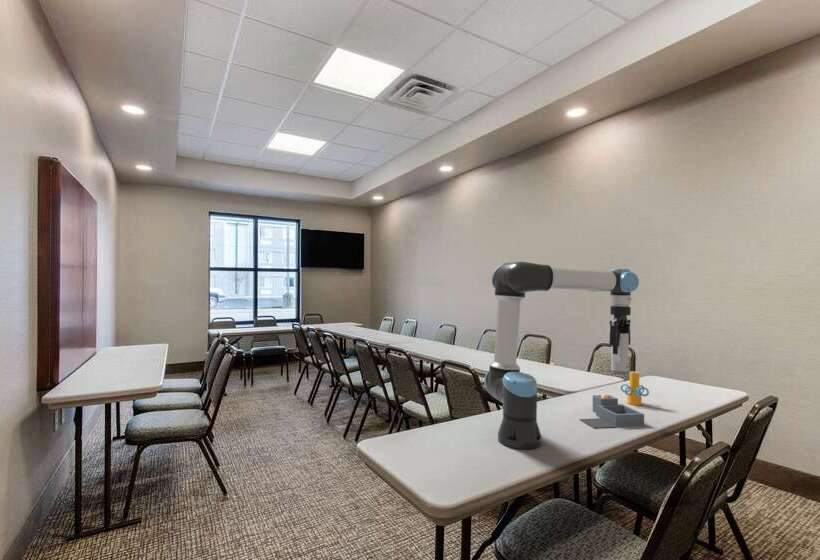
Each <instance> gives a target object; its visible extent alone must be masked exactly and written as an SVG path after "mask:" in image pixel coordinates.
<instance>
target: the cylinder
mask: <svg viewBox="0 0 820 560" xmlns="http://www.w3.org/2000/svg"><path fill="white" fill-rule="evenodd" d="M623 387H625V389H623ZM620 390H621V391H622V393H624V394H625V395H626V396H627V397H626V399H627V400H626V401H627V404H628V405H631V406H641V405H642V403H643V401H642V399H643V398H642V397H647V396H648V395H649V394H650V390H649V389H648V388H647V387H645V386H644V385H642V384H640V372H639V371H629V385H628V384H627V383H623V384H621V386H620ZM644 391H646V393H645V394H643V393H644Z"/></svg>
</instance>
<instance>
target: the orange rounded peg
mask: <svg viewBox="0 0 820 560" xmlns="http://www.w3.org/2000/svg"><path fill="white" fill-rule="evenodd" d="M600 395H601V398H603V399H606V398H609V396H608V395H609V394H600Z"/></svg>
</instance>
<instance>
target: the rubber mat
mask: <svg viewBox="0 0 820 560" xmlns="http://www.w3.org/2000/svg"><path fill="white" fill-rule="evenodd" d="M579 421H581V422H582V423H584V424H585V425H587V426H589V427H590V428H592V429H613V428H615V429H617V428H618V426H615V425H614V424H612V423H610V422H608V421H606V420H604V419H602V418H600V417H597V418H595V417H594V418H579Z"/></svg>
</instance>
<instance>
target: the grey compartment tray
mask: <svg viewBox="0 0 820 560" xmlns="http://www.w3.org/2000/svg"><path fill="white" fill-rule="evenodd" d="M601 395H602V394H598V395H597V394H595V395H593V394H592V412H594V413H595V416H596V417H597V418H602V419H604V420H606V421H608V422H610V423H612V424H614V425H615V426H617V427H631V426H632V427H634V426H639V427H640V426H645V413H643V412H641V411H638V410H636V409H634V408H631V407H630V406H627V405H624V404H623V403H622V404H619V399H618V397H615V396H613V395H610V394H607V395H608V396H609V398H606V399H603V398H601Z"/></svg>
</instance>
